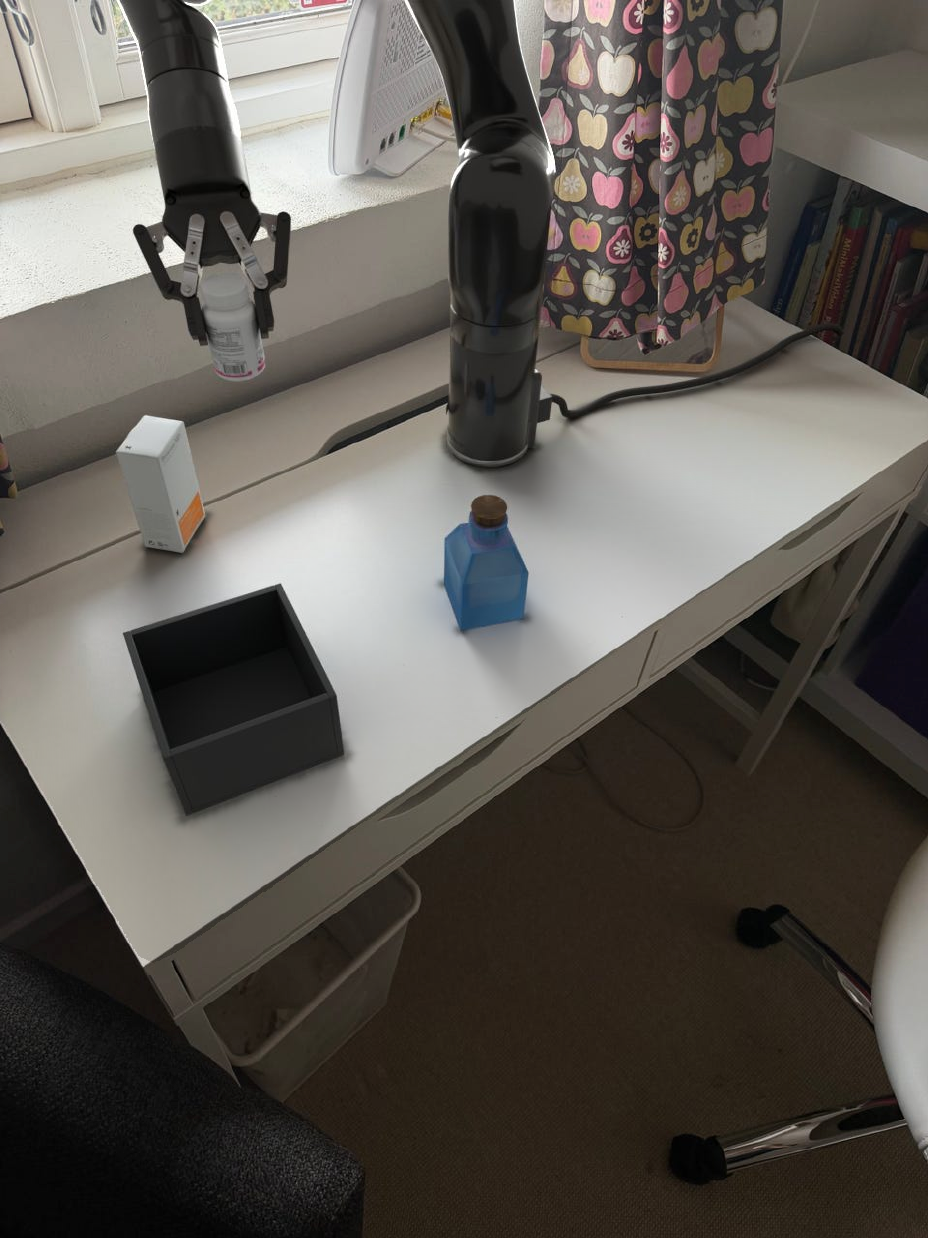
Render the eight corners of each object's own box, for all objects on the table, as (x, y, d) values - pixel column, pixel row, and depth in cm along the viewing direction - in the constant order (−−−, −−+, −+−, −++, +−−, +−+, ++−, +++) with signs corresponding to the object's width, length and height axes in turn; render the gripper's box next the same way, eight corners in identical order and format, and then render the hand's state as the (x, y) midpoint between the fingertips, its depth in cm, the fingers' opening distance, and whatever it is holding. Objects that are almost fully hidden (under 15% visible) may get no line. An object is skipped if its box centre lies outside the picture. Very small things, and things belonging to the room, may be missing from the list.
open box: (291, 644, 81) (280, 582, 75) (344, 754, 73) (337, 695, 67) (146, 693, 77) (122, 632, 71) (186, 816, 69) (163, 759, 63)
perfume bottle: (460, 630, 82) (464, 536, 74) (443, 584, 86) (445, 489, 77) (523, 618, 84) (534, 524, 75) (503, 573, 88) (512, 479, 79)
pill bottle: (242, 348, 85) (227, 264, 79) (276, 367, 83) (263, 282, 77) (203, 369, 82) (184, 284, 76) (237, 388, 81) (220, 302, 74)
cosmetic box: (184, 554, 88) (157, 458, 79) (144, 547, 89) (112, 451, 80) (208, 515, 92) (184, 419, 83) (169, 509, 93) (142, 413, 84)
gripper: (104, 128, 72) (145, 338, 73) (280, 116, 75) (316, 318, 76) (121, 170, 79) (157, 360, 81) (280, 157, 82) (313, 341, 84)
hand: (234, 339), depth 78 cm, fingers closed on pill bottle, 4 cm apart
